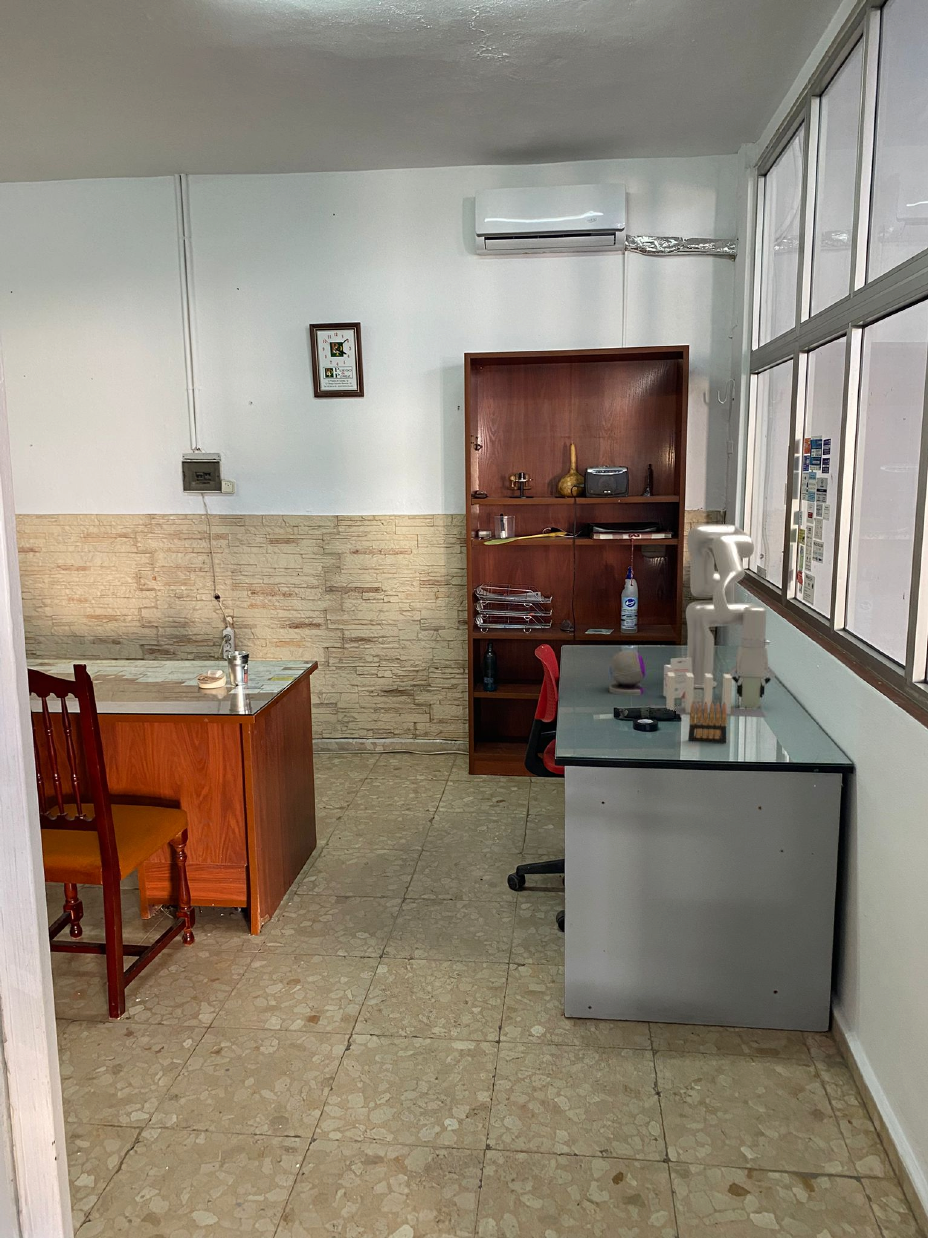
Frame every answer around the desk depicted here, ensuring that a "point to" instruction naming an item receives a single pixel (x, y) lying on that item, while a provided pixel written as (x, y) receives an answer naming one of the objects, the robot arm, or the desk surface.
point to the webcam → (627, 673)
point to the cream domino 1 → (670, 690)
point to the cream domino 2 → (689, 692)
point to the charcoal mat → (733, 711)
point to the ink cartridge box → (678, 675)
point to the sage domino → (750, 692)
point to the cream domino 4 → (727, 692)
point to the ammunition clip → (707, 724)
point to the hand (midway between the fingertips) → (750, 695)
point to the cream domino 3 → (708, 690)
